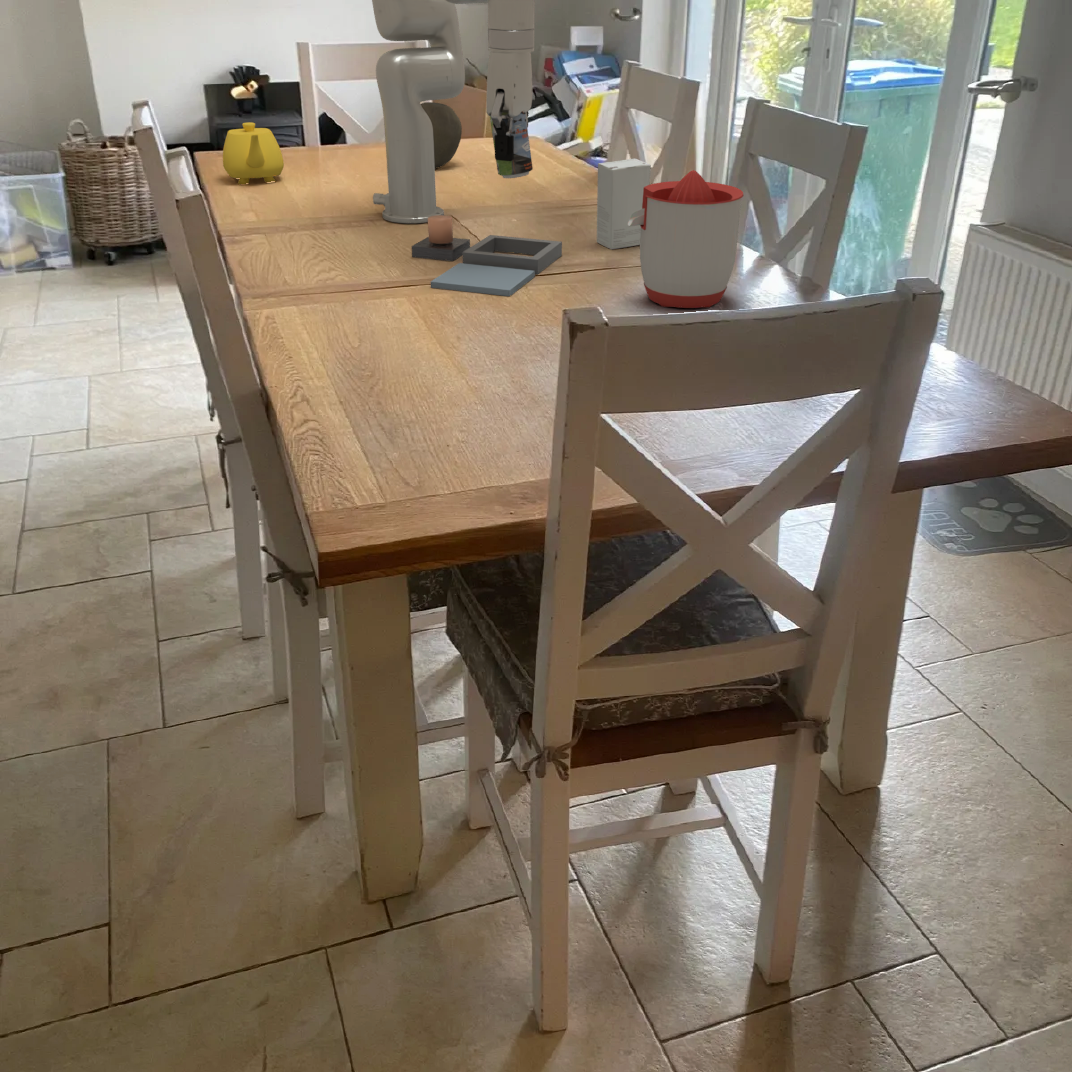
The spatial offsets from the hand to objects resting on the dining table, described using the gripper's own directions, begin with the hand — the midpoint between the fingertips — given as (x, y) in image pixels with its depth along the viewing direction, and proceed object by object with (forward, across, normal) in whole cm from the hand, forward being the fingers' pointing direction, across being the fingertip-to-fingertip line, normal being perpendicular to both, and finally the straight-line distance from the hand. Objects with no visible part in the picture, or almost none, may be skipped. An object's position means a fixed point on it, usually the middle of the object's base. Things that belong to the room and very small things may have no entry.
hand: (511, 155), depth 183 cm
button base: (+18, 0, -14) cm, 23 cm away
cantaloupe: (+19, -74, -49) cm, 90 cm away
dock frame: (+18, 0, 0) cm, 18 cm away
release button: (+16, 0, -14) cm, 21 cm away
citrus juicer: (+18, +12, +33) cm, 40 cm away
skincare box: (+18, -18, +15) cm, 30 cm away
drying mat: (+18, +14, 0) cm, 23 cm away
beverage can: (+4, 0, 0) cm, 4 cm away
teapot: (+19, -43, -80) cm, 93 cm away
